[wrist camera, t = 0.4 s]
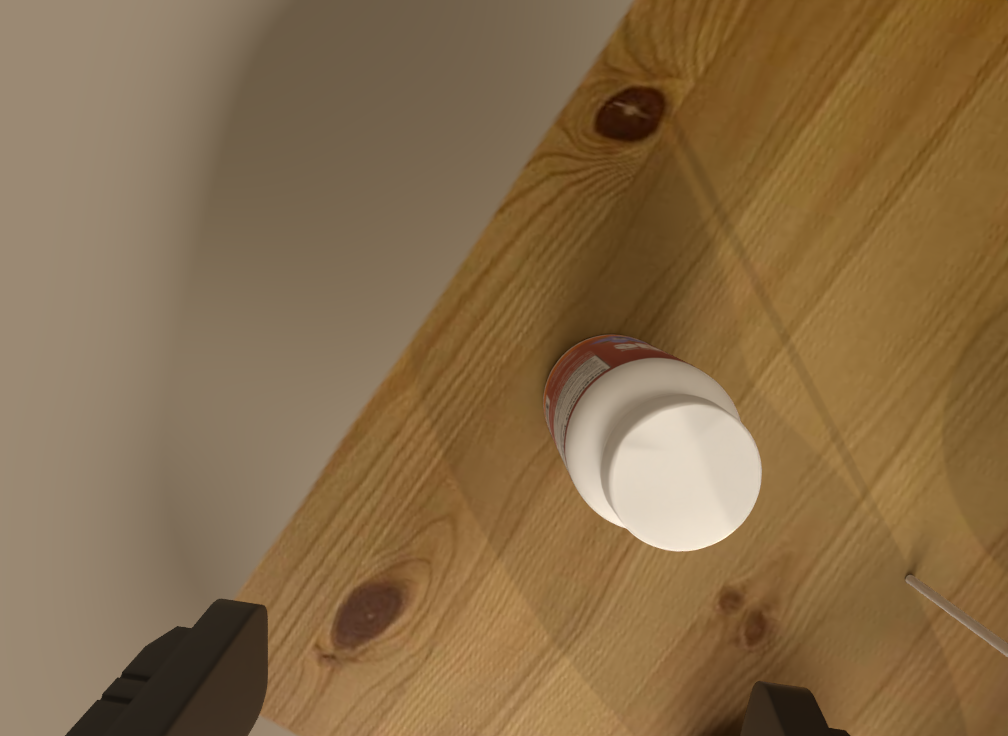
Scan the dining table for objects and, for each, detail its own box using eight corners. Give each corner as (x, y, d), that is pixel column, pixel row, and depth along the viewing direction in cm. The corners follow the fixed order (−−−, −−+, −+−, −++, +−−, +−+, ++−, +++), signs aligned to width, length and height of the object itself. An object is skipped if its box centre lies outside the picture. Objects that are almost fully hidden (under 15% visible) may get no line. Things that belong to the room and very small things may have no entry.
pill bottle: (698, 381, 30) (831, 453, 19) (619, 486, 31) (705, 612, 20) (593, 304, 29) (670, 335, 18) (514, 414, 30) (543, 506, 19)
